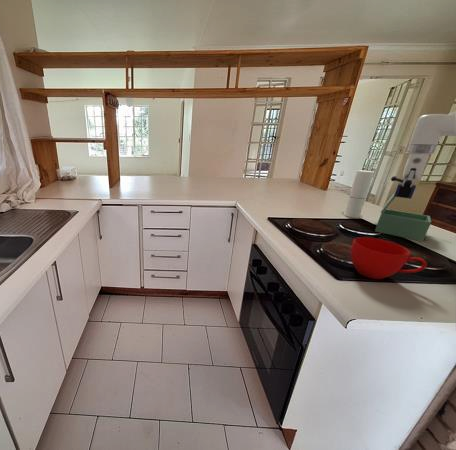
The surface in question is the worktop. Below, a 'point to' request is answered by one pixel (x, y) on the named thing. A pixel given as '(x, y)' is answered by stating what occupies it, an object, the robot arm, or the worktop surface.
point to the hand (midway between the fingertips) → (402, 195)
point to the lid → (392, 195)
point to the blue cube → (401, 186)
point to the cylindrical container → (358, 193)
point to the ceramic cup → (380, 258)
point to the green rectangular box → (403, 224)
